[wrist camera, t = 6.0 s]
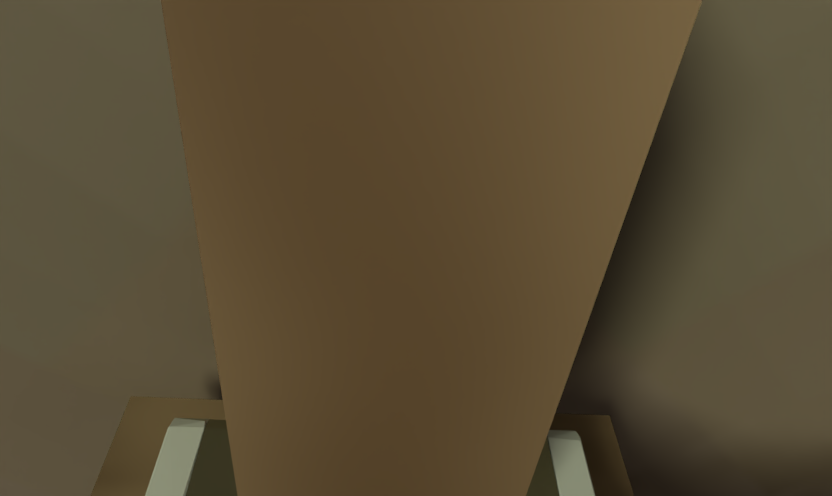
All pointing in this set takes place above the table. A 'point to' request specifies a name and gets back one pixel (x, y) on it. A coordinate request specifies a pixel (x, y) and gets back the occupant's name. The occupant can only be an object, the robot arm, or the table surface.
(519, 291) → the wooden post on base
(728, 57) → the table surface
